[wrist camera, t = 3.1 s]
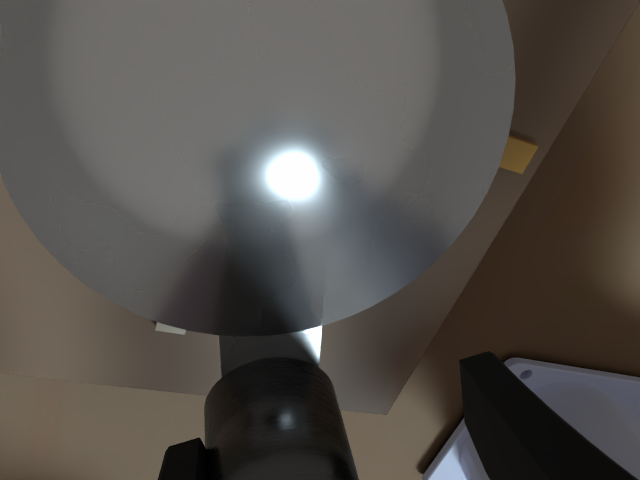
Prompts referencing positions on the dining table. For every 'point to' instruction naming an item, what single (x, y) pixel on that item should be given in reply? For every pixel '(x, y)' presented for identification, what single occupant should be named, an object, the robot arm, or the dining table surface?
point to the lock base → (343, 335)
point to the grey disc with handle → (254, 177)
